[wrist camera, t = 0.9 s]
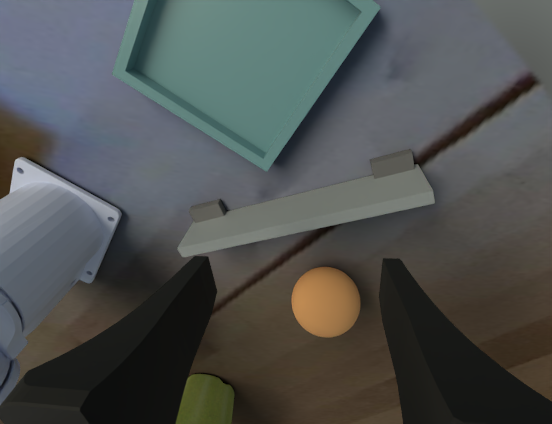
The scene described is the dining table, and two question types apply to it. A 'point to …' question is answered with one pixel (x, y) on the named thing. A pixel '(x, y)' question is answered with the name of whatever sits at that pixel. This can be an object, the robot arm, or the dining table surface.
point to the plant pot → (206, 401)
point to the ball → (326, 302)
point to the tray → (240, 63)
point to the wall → (311, 207)
